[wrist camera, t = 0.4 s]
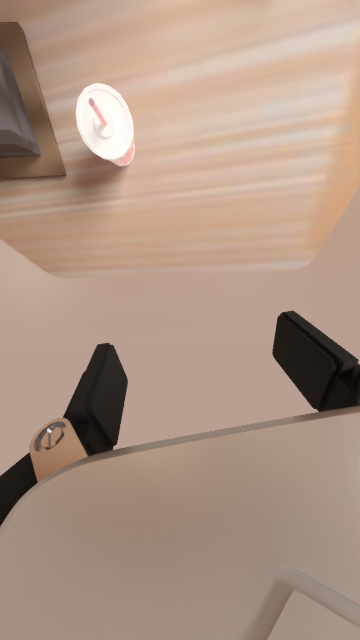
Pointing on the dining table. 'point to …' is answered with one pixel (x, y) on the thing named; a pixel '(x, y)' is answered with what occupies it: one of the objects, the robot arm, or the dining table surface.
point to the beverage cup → (106, 124)
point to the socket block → (23, 113)
